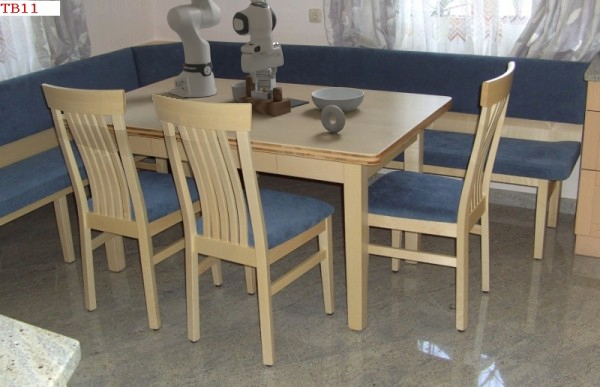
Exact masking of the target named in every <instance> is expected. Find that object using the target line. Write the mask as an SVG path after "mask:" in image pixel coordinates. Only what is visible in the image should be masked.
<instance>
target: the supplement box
mask: <svg viewBox="0 0 600 387" xmlns="http://www.w3.org/2000/svg"><path fill="white" fill-rule="evenodd" d="M271 71H272V70H271V68H270V69H265V70H261V71H256V74H255V76H256V78H258V83H257V91H258V89H260V88H262V89H263V88H267V89H270V90H273V88H275V87H277V81H276V80H277V79H276V76H275V79H270V76H269V74H271Z"/></svg>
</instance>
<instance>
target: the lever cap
mask: <svg viewBox="0 0 600 387" xmlns="http://www.w3.org/2000/svg"><path fill="white" fill-rule="evenodd" d="M251 98H254V99H259V100H264V101H270V100H273V90H270V89H267V92H263V89H262V88H260V89H258V91H256V90H252V91H251Z"/></svg>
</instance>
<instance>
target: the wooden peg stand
mask: <svg viewBox="0 0 600 387" xmlns="http://www.w3.org/2000/svg"><path fill="white" fill-rule="evenodd" d="M244 78H245V79H244V81H246V95H245V96H241V97H239V103H251V104H252V112H251V113H256V114H261V115H266V116H271V117H278V116H281V115H285V114H289V113H291V112H292V108H291V103H290V99H285V98H283V87H281V86H276V87H275V88H273V100H270V101H264V100H259V99H254V98H251V91H252V90H255V83H253V79H252V77H251V76H250V74H249V75H245V77H244ZM263 92H267V88H263ZM239 103H238V104H239Z"/></svg>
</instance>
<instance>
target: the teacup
mask: <svg viewBox="0 0 600 387" xmlns="http://www.w3.org/2000/svg"><path fill="white" fill-rule="evenodd" d="M230 88H231V93H232V98H233V100H234V101H235V102H237V103H238V104H239V97H241V96H245V95H246V81H245V80H244V81H239V82H235V83H233V84H231V86H230ZM255 90H256V91H257V83H255Z"/></svg>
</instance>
